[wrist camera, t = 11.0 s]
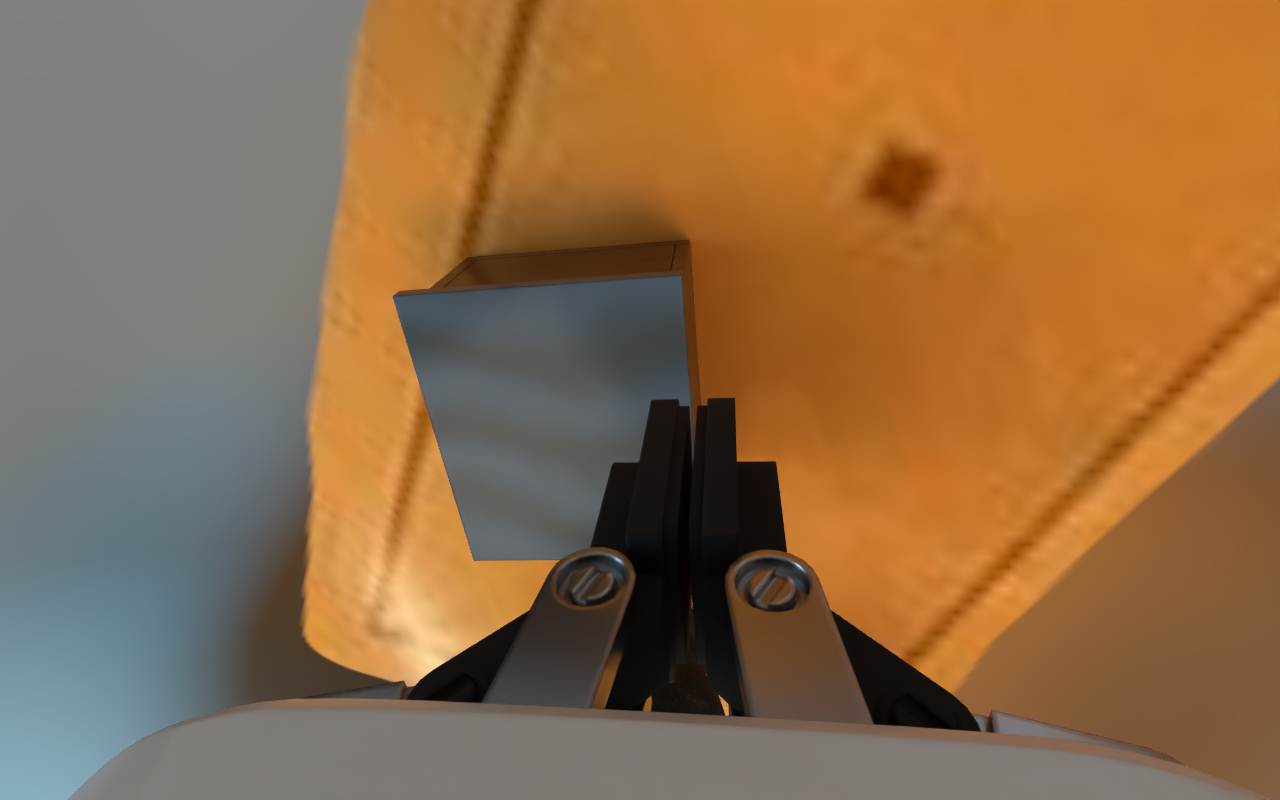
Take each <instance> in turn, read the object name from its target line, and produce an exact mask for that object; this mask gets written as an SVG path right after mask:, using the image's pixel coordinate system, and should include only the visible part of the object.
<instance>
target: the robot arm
mask: <svg viewBox="0 0 1280 800" xmlns="http://www.w3.org/2000/svg"><path fill="white" fill-rule="evenodd" d="M691 599H692V602H693V616H694V631H695V645H696V660H697V664H703V665H706V671H707V684H708V685H709V686H710V687H712V688H713V689H714V690H715V691H716V692H717V693H718V694H719V695H720V696H721V697H722V698H723V699H724V700H725V701H726V702H727V703H728V704H729V716H719V715H701V714H683V713H664V712H651V705H652V697H651V696H652V695H653V694H654V693H655V692H657V691H658V690H659V689H661V688H662V687H663V686H664V685H666V684H667V683H675V677H676V664H677V663H679V664H687V663H688V651H689V634H690V616H691ZM68 800H1271V799H1269V798H1266V797H1264V796H1262V795H1260V794H1257V793H1255V792H1253V791H1251V790H1249V789H1246V788H1244V787H1242V786H1239V785H1236V784H1234V783H1231V782H1228V781H1226V780H1223V779H1220V778H1217V777H1214V776H1212V775H1209V774H1206V773H1204V772H1201V771H1198V770H1196V769H1193V768H1190V767H1187V766H1185V765H1184V764H1182V763H1181V762H1179V761H1177V760H1176V759H1174V758H1173V757H1171V756H1169V755H1166V754H1163V753H1160V752H1158V751H1155V750H1153V749H1150V748H1147V747H1143V746H1139V745H1135V744H1131V743H1126V742H1123V741H1119V740H1115V739H1110V738H1106V737H1102V736H1098V735H1094V734H1090V733H1086V732H1081V731H1078V730H1073V729H1069V728H1065V727H1061V726H1057V725H1053V724H1049V723H1045V722H1040V721H1037V720H1033V719H1028V718H1024V717H1020V716H1016V715H1012V714H1008V713H1003V712H1000V711H996V710H991V712H990V715H989V717H987V716H983V715H979V714H975V713H971V712H970V711H969V710H968V708H967V707H966V706H965V705H964V704H962V703H961V702H960V701H959V700H958V699H957V698H956V697H954V696H953V695H952V694H951V693H949V692H948V691H946V690H945V689H944V688H942V687H941V686H939V685H938V684H936V683H935V682H934V681H932V680H931V679H929V678H928V677H926V676H925V675H923V674H922V673H921V672H919V671H918V670H916V669H915V668H913V667H912V666H911V665H909V664H908V663H906V662H905V661H903V660H902V659H901V658H899V657H898V656H896V655H895V654H893V653H892V652H890V651H889V650H888V649H886V648H885V647H883V646H882V645H880V644H879V643H878V642H876V641H875V640H873V639H872V638H870V637H869V636H867V635H866V634H865V633H863V632H862V631H860V630H859V629H857V628H856V627H855V626H853V625H852V624H850V623H849V622H847V621H846V620H844V619H843V618H842V617H840V616H839V615H837V614H836V613H834V612H833V611H832V610H830V607H829V604H828V602H827V599H826V596H825V594H824V591H823V588H822V586H821V583H820V581H819V578H818V577H817V575H816V573H815V572H814V570H813V568H812V567H810V566H809V565H808V564H807V563H806V562H805V561H804V560H802V559H800V558H798V557H796V556H794V555H792V554H790V553H787V548H786V540H785V532H784V523H783V515H782V507H781V499H780V491H779V482H778V474H777V466H776V462H737V455H736V421H735V398H708V405H707V406H697V416H696V430H695V444H694V458H693V457H692V440H691V423H690V409H689V406H680V404H679V399H657V400H651V404H650V409H649V414H648V419H647V424H646V429H645V434H644V439H643V444H642V449H641V454H640V459H639V462H614V463H613V464H612V467H611V470H610V474H609V478H608V481H607V485H606V489H605V493H604V497H603V501H602V504H601V508H600V512H599V516H598V520H597V524H596V527H595V531H594V535H593V539H592V543H591V547H590V548H586V549H582V550H578V551H576V552H573V553H571V554H569V555H567V556H565V557H564V558H563V559H561V560H560V561H559V562H558V563H556V565H555V566H554V567H553V569H552V570H551V571H550V573H549V574H548V576H547V578H546V580H545V582H544V584H543V586H542V588H541V590H540V592H539V594H538V595H537V597H536V599H535V601H534V603H533V605H532V607H531V609H530V610H529V611H527V612H526V613H524V614H523V615H521V616H519V617H518V618H516V619H515V620H513V621H511V622H510V623H508V624H507V625H505V626H503V627H502V628H500V629H498V630H497V631H495V632H494V633H492V634H490V635H489V636H487V637H486V638H484V639H482V640H481V641H479V642H478V643H476V644H474V645H473V646H471V647H469V648H468V649H466V650H465V651H463V652H461V653H460V654H458V655H457V656H455V657H453V658H452V659H450V660H448V661H447V662H445V663H444V664H442V665H440V666H439V667H437V668H436V669H434V670H433V671H431V672H430V673H429V674H427V675H426V676H425V677H424V678H422V679H421V680H420V681H419V682H418V683H417V684H416V686H413V687H407V686H406V684H405V682H404V681H399V682H393V683H387V684H382V685H376V686H369V687H363V688H357V689H351V690H345V691H339V692H333V693H328V694H322V695H315V696H310V697H304V698H298V699H291V700H280V701H267V702H259V703H253V704H248V705H243V706H238V707H233V708H228V709H222V710H218V711H216V712H212V713H208V714H205V715H202V716H198V717H195V718H191V719H188V720H185V721H182V722H179V723H177V724H174V725H172V726H169V727H167V728H164V729H162V730H160V731H158V732H155V733H153V734H151V735H149V736H147V737H145V738H143V739H141V740H139V741H138V742H136V743H134V744H133V745H131V746H129V747H128V748H126V749H125V750H123V751H122V752H120V753H119V754H118V755H117V756H115V757H114V758H113V759H111V760H110V761H109V762H108V763H106V764H105V765H104V766H103V767H102V768H100V769H99V770H98V771H97V772H96V773H95V774H94V775H93V776H92V777H91V778H89V779H88V780H87V781H86V782H85V783H84V784H83V785H82V786H81V787H80V788H79V789H78V790H77V791H76V792H75V793H74V794H73V795H72V796H71V797H70V798H69V799H68Z"/></svg>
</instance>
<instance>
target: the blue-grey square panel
mask: <svg viewBox="0 0 1280 800" xmlns="http://www.w3.org/2000/svg"><path fill="white" fill-rule="evenodd" d="M393 300H394V303H395V306H396V309H397V313H398V316H399V319H400V322H401V326H402V329H403V332H404V335H405V339H406V342H407V345H408V348H409V352H410V355H411V358H412V361H413V365H414V368H415V371H416V374H417V378H418V381H419V384H420V387H421V391H422V394H423V397H424V400H425V404H426V407H427V410H428V413H429V417H430V420H431V423H432V426H433V430H434V433H435V436H436V439H437V443H438V446H439V449H440V452H441V455H442V459H443V462H444V465H445V468H446V472H447V475H448V478H449V481H450V485H451V488H452V491H453V494H454V498H455V501H456V504H457V507H458V511H459V514H460V517H461V520H462V524H463V527H464V530H465V533H466V537H467V540H468V543H469V546H470V550H471V553H472V556H473V559H474V561H484V560H561V559H563V558H564V557H565V556H567V555H569V554H571V553H573V552H576V551H578V550H582V549H586V548H590V547H591V543H592V539H593V535H594V531H595V527H596V524H597V520H598V516H599V512H600V508H601V504H602V501H603V497H604V493H605V489H606V485H607V481H608V478H609V474H610V470H611V467H612V464H613V463H614V462H639V459H640V454H641V449H642V444H643V439H644V434H645V429H646V424H647V419H648V414H649V409H650V404H651V400H657V399H679V404H680V406H689V409H690V423H691V440H692V457H693V458H694V444H695V432H694V419H693V405H692V392H691V379H690V365H689V352H688V339H687V325H686V312H685V299H684V285H683V272H682V271H681V270H678V271H665V272H651V273H637V274H624V275H610V276H597V277H583V278H569V279H556V280H542V281H529V282H515V283H501V284H488V285H474V286H460V287H447V288H433V289H420V290H406V291H399V292H398V293H396V294H395V295H394V296H393Z"/></svg>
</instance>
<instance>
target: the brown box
mask: <svg viewBox="0 0 1280 800" xmlns="http://www.w3.org/2000/svg"><path fill="white" fill-rule="evenodd" d="M678 270H681V271H682V272H683V285H684V299H685V312H686V325H687V339H688V352H689V365H690V379H691V392H692V405H693V419H694V432H695V430H696V416H697V406H701V399H700V384H699V369H698V354H697V340H696V325H695V310H694V295H693V280H692V265H691V251H690V240H680V241H668V242H655V243H643V244H630V245H618V246H605V247H593V248H580V249H568V250H555V251H543V252H530V253H518V254H505V255H493V256H480V257H468V258H467V259H465V260H464V261H463V262H462V263H460V264H459V265H458V266H457V267H455V268H454V269H453V270H452V271H451V272H449V273H448V274H447V275H446V276H444V277H443V278H442V279H441V280H439V281H438V282H437V283H436V284H435V285H433V286H432V287H431V288H430V289H433V288H447V287H460V286H474V285H488V284H501V283H515V282H529V281H542V280H556V279H569V278H583V277H597V276H610V275H624V274H637V273H651V272H665V271H678Z"/></svg>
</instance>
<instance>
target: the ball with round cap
mask: <svg viewBox="0 0 1280 800" xmlns="http://www.w3.org/2000/svg"><path fill="white" fill-rule="evenodd" d="M706 674H707V671H706V665H703V664H697V660H696V645H695V631H694V616H693V609H691V616H690V634H689V651H688V663H687V664H679V663H677V664H676V677H675V683H667V684H666V685H664V686H663V687H662V688H661V689H659V690H658V691H657V692H655V693H654V694H653V695H652V696H651V697H652V705H651V712H664V713H683V714H701V715H719V716H725V713H724V710H723V707H722V704H721V701H720V698H719V696H718V693H717V692H716V691H715V690H714V689H713V688H712V687H710V686H709V685H708V684H707V676H706Z"/></svg>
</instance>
